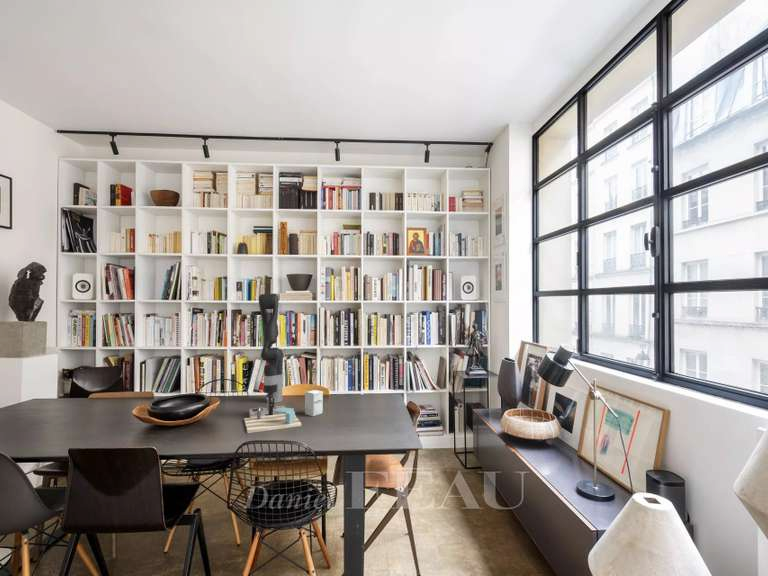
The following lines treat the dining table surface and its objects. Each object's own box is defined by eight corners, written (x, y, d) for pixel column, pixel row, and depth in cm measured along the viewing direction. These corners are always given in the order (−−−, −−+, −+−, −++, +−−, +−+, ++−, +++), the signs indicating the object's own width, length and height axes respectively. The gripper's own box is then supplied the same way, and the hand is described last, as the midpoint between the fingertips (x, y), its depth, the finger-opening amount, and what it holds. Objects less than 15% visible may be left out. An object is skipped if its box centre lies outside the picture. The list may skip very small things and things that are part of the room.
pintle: (256, 420, 203) (257, 406, 203) (260, 420, 203) (260, 406, 204) (257, 421, 201) (257, 407, 201) (260, 421, 202) (260, 407, 202)
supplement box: (313, 416, 210) (313, 393, 211) (304, 414, 215) (304, 391, 215) (323, 413, 216) (323, 391, 217) (314, 411, 221) (314, 389, 221)
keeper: (273, 425, 195) (273, 410, 195) (281, 421, 202) (281, 407, 202) (288, 427, 192) (288, 412, 193) (295, 423, 199) (296, 408, 199)
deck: (244, 420, 203) (244, 418, 203) (293, 414, 214) (293, 412, 214) (247, 433, 183) (247, 430, 183) (301, 425, 194) (301, 423, 194)
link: (250, 419, 205) (250, 412, 205) (249, 416, 212) (249, 408, 212) (286, 415, 213) (286, 408, 213) (284, 412, 219) (284, 405, 220)
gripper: (262, 381, 219) (261, 412, 218) (265, 386, 206) (264, 418, 204) (275, 380, 222) (275, 410, 221) (279, 385, 209) (278, 416, 208)
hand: (270, 414), depth 213 cm, fingers closed on link, 4 cm apart
